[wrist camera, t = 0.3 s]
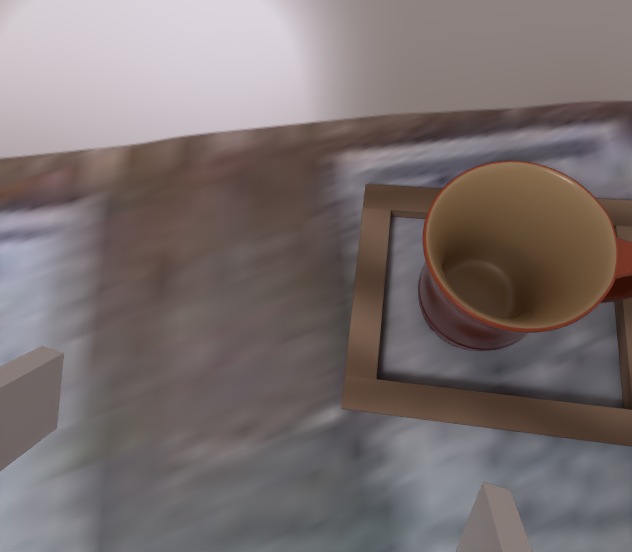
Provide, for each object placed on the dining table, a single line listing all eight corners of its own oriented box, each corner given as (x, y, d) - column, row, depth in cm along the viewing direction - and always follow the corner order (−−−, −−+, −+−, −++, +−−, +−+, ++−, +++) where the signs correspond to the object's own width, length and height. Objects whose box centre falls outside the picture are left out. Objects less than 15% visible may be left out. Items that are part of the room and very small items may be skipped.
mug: (399, 357, 30) (416, 319, 21) (410, 237, 33) (429, 154, 23) (594, 382, 29) (711, 353, 19) (588, 253, 31) (686, 170, 22)
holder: (663, 450, 27) (674, 450, 26) (342, 408, 30) (341, 407, 29) (637, 208, 32) (645, 201, 31) (365, 190, 35) (365, 183, 34)
